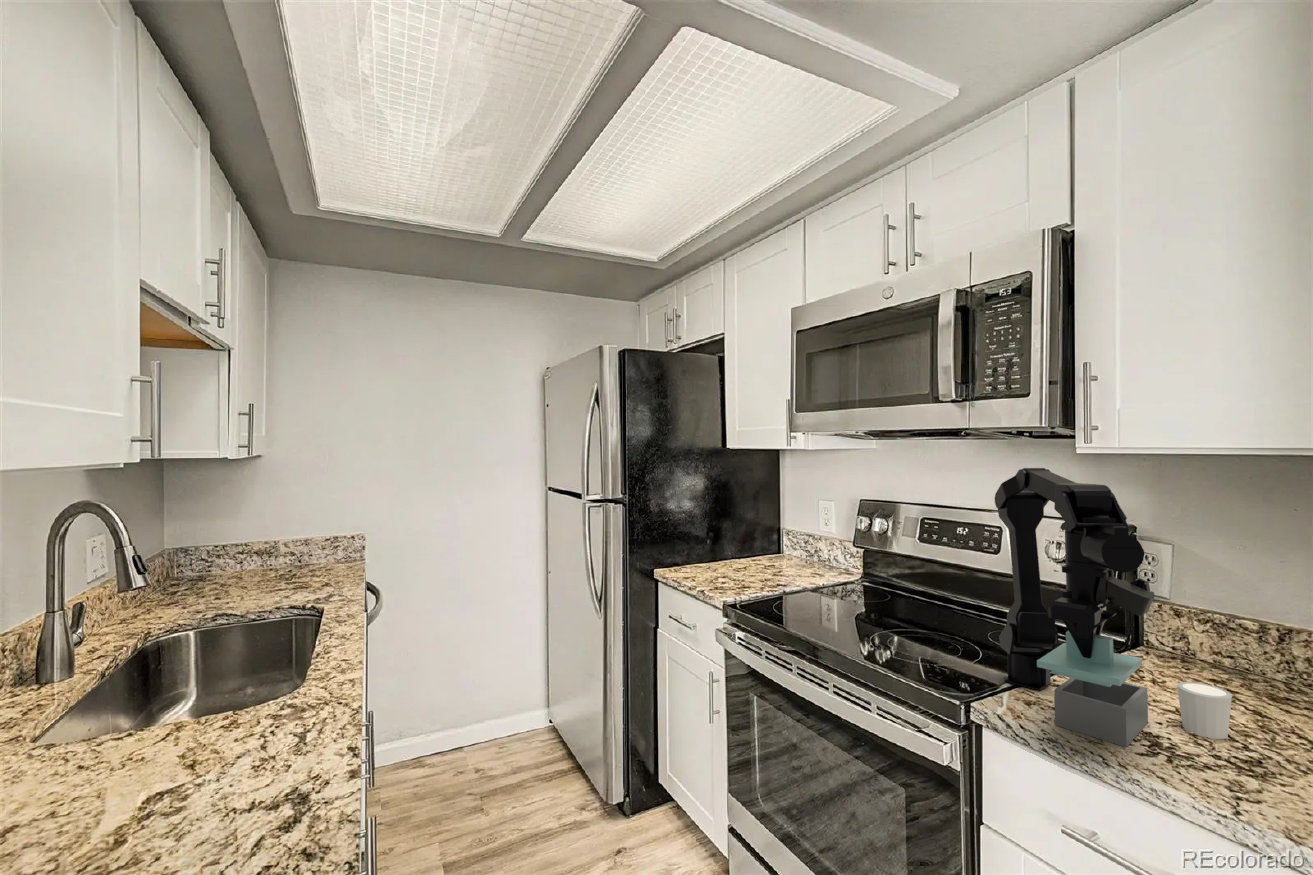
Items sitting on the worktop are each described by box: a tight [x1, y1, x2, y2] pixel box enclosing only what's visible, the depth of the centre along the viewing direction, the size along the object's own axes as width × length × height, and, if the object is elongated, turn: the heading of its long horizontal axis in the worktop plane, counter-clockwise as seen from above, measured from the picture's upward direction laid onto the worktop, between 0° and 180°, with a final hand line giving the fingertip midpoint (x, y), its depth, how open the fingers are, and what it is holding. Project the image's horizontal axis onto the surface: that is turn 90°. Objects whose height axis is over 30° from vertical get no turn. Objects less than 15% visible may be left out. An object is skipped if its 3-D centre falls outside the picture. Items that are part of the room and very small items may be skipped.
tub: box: [1053, 678, 1149, 748], centre depth 104 cm, size 10×13×6 cm
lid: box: [1037, 629, 1143, 687], centre depth 99 cm, size 11×14×6 cm
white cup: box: [1176, 681, 1233, 740], centre depth 101 cm, size 7×7×7 cm
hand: (1089, 656), depth 99 cm, fingers closed on lid
